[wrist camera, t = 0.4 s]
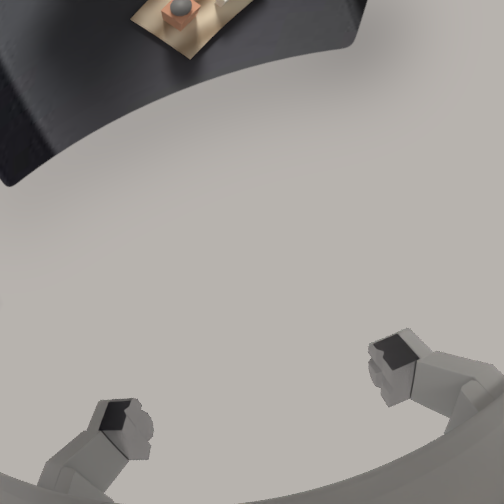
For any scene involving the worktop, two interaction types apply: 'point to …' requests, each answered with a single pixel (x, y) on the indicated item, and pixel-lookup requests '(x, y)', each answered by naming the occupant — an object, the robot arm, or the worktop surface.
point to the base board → (196, 30)
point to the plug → (180, 12)
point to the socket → (221, 2)
